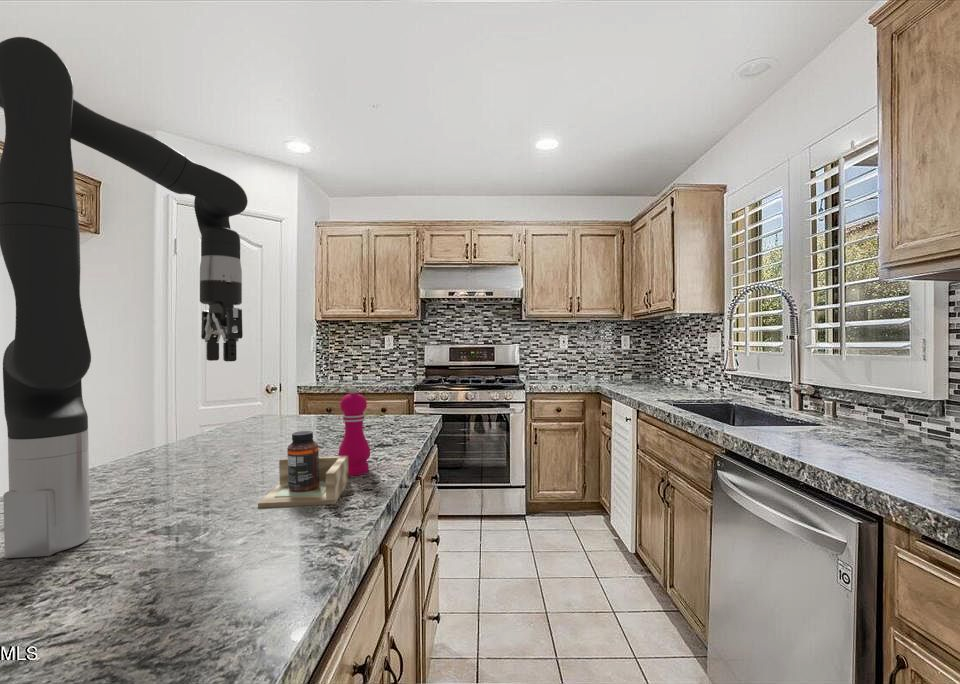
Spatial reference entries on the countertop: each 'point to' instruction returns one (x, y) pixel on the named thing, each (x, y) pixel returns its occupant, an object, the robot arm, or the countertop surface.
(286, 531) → the countertop surface
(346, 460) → the tray
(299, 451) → the supplement bottle
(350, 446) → the pepper mill
